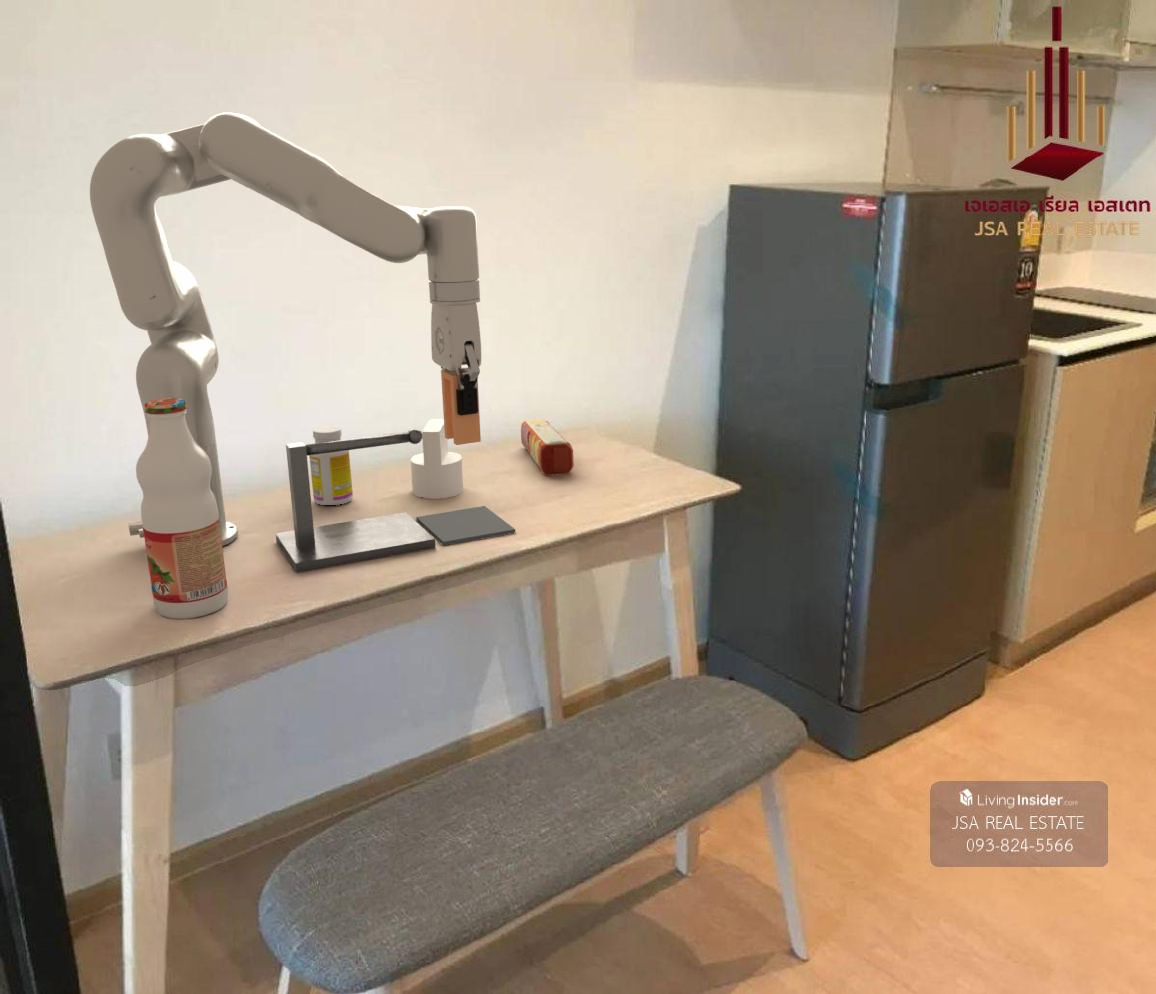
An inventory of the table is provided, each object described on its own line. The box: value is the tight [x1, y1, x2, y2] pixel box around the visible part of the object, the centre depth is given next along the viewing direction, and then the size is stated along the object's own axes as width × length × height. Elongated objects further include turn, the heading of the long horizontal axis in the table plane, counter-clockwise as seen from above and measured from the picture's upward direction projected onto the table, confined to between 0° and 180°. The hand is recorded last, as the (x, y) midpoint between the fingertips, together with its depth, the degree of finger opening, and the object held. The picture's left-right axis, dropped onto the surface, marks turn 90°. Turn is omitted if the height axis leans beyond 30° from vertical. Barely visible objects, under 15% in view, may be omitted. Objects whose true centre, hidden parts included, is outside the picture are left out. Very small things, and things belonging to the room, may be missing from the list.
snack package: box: [520, 418, 574, 476], centre depth 205 cm, size 21×7×7 cm, turn 13°
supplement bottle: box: [309, 425, 354, 506], centre depth 182 cm, size 7×7×13 cm
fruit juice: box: [135, 398, 229, 620], centre depth 138 cm, size 9×9×28 cm
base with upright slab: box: [410, 418, 464, 500], centre depth 187 cm, size 9×9×12 cm
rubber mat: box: [415, 505, 516, 547], centre depth 171 cm, size 12×13×1 cm
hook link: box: [440, 366, 482, 446], centre depth 165 cm, size 4×5×11 cm
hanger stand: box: [275, 427, 436, 574], centre depth 161 cm, size 22×14×17 cm, turn 117°
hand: (460, 409), depth 165 cm, fingers closed on hook link, 5 cm apart
